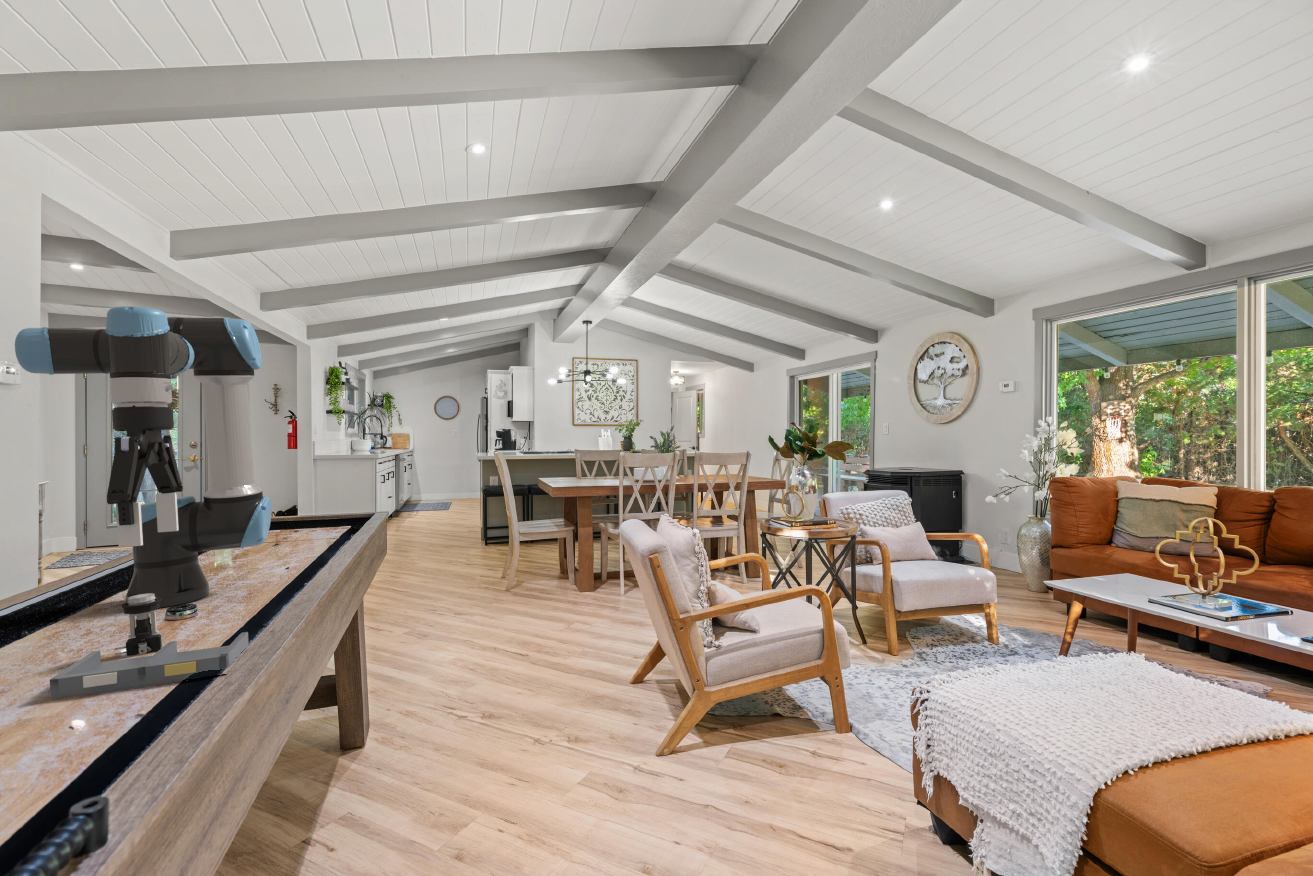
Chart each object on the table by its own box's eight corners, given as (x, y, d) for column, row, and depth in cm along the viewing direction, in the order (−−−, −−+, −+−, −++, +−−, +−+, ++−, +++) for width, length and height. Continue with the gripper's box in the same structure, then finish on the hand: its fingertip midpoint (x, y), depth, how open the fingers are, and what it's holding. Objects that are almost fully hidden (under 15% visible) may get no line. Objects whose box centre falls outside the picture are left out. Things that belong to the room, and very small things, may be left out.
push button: (111, 662, 105) (108, 604, 104) (118, 652, 109) (114, 596, 109) (161, 653, 108) (158, 596, 108) (166, 644, 113) (162, 590, 112)
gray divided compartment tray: (93, 669, 102) (92, 651, 102) (248, 648, 109) (247, 631, 109) (49, 700, 90) (48, 680, 90) (226, 675, 97) (225, 656, 97)
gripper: (135, 402, 88) (144, 550, 88) (199, 407, 111) (206, 524, 112) (69, 404, 85) (78, 556, 86) (148, 408, 109) (155, 528, 109)
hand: (150, 538), depth 99 cm, fingers open, 13 cm apart
